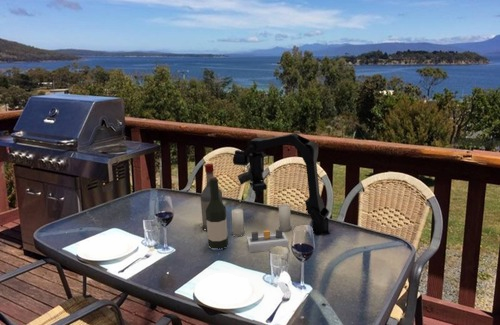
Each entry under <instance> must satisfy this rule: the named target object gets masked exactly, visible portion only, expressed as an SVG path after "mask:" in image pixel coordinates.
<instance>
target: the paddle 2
mask: <svg viewBox="0 0 500 325" xmlns="http://www.w3.org/2000/svg"><path fill="white" fill-rule="evenodd" d="M275 233H276V238H279V237H282V229H279V228H277V229H275Z"/></svg>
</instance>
